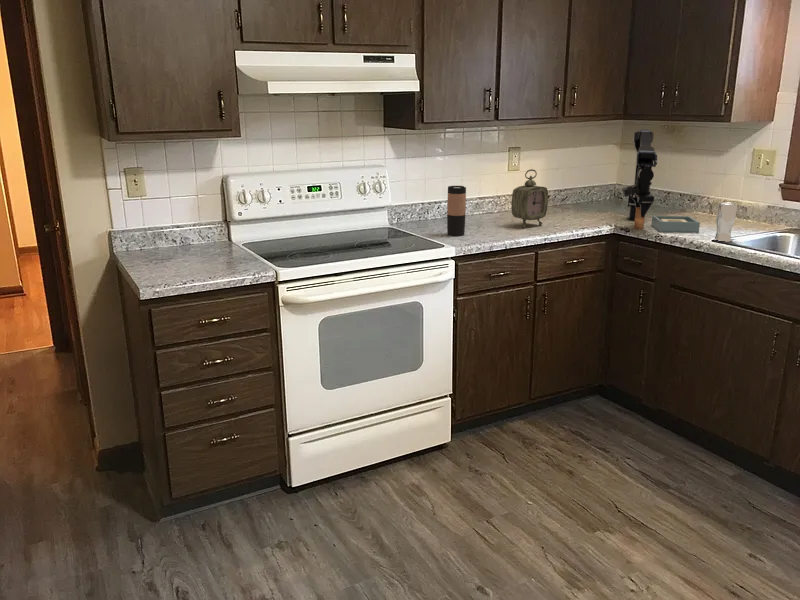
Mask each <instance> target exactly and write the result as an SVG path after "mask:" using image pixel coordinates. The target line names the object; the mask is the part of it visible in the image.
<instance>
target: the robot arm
mask: <svg viewBox="0 0 800 600" xmlns="http://www.w3.org/2000/svg"><path fill="white" fill-rule="evenodd" d="M654 135H655V134H654V132H653V131H652V129H639V130H638V131H636V132H634V133H633V138H632V143H633V148H634V149H635V151H636V157H635V173H634V182H633V184H632V185H629V186H624V187H622V188H621V191H622V194H623V196H624V197H627V199H626V200H627V201H626V206H627V207H629V214H628V216H626V218H627V220H629V221H635V213H636V208H637V207H640V210H641V217H644V216H645V217H646V215H647V212H648V211H649V209H650V208H651V206H652V205H653V203H655V197H654V195H652V194H651V191H650V190H651V186H652V183H653V182H652V180H653V179H654V175H655V174H654V171H653V168H656V166H657V165H658V154H657V152H656V151H655V147H654V146H653V145H652V144H653V142H654Z"/></svg>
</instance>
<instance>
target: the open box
mask: <svg viewBox="0 0 800 600" xmlns="http://www.w3.org/2000/svg"><path fill="white" fill-rule="evenodd" d="M700 225H701V223H700V221H698V220H697V219H695V218H694V217H692V216H690V215H689V216H688V215H685V216H684V215H652V216H651V227H652V226H653V227H652V228H654V229H655V230H656V231H658V232H659V233H674V232H699V233H700V227H701V226H700Z"/></svg>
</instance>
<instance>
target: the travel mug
mask: <svg viewBox="0 0 800 600" xmlns="http://www.w3.org/2000/svg"><path fill="white" fill-rule="evenodd" d="M446 203H447V206H446V207H447V208H446V211H447V212H446V221H447V222H446V227H447V231H446V233H447V236H448V237H450V236H451V237H462V236H465V229H466V215H467V213H466V212H467V211H466V210H467V209H466V207H467V206H466V204H467V187H466V186H464V185H448V186H447V202H446Z"/></svg>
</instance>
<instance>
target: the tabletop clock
mask: <svg viewBox="0 0 800 600" xmlns="http://www.w3.org/2000/svg"><path fill="white" fill-rule="evenodd" d="M529 172H534V173H535V175H534V176H532V175H529V177H528V176H527V174H528V173H529ZM537 175H538V173H537V171H536V170H535V169H533V168H532V169H528V170H526V172H525V174H524V177H525V178H526V179H527V180H525V182H524V184H523V185H519V186H517V187H515V188H514V189H513V190H512V193H511V214H512V216H513V217H515V218H516V219H521V220H522V224H521V228H522V229H525V228H526V225H527V222H526V221H536V220H537V221H538V225H539V226H543V222H542V221H540V220H541V219H543V218H545V217H546V215H547V211H548V204H549V193H548V188H547V187H545V186H540V185H537V182H536V181H535V180H534V179H535V178H536V177H537Z"/></svg>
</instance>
